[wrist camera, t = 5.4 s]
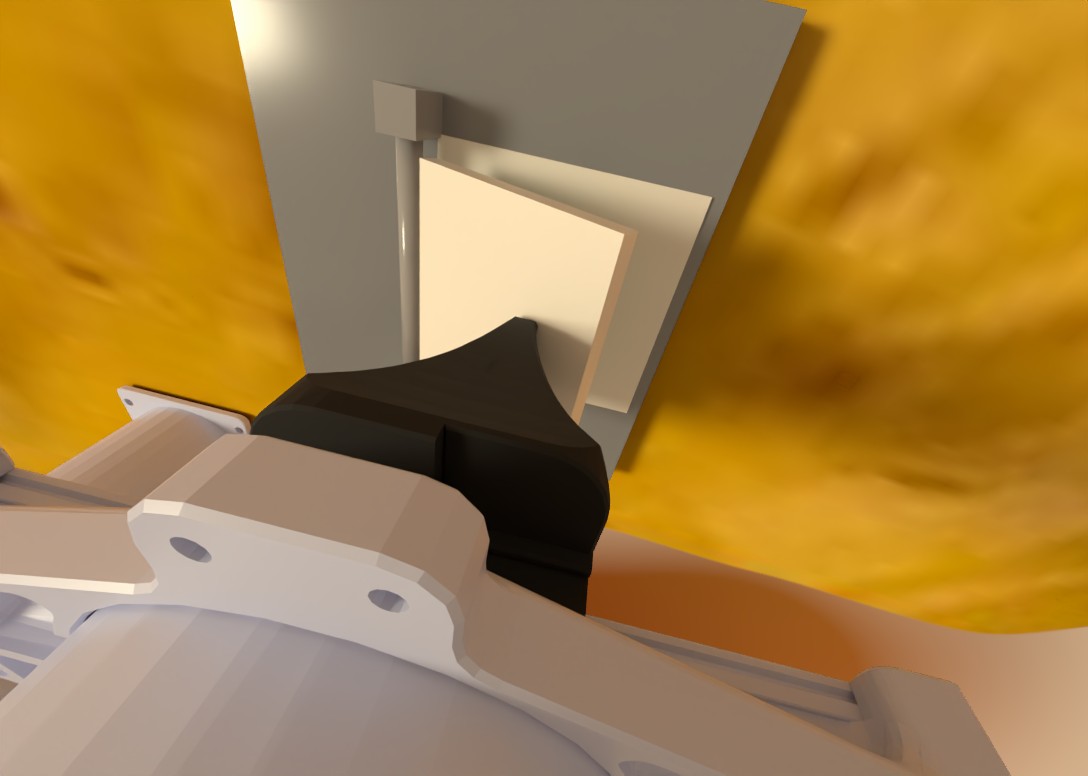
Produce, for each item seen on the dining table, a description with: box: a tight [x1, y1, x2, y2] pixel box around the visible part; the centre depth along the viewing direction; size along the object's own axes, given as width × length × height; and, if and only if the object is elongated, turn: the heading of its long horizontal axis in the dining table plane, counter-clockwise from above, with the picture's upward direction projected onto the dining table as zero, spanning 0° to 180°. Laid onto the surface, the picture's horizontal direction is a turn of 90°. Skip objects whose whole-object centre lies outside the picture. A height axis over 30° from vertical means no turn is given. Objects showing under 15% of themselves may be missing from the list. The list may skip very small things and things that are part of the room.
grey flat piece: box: [231, 0, 807, 481], centre depth 15 cm, size 18×16×3 cm
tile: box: [420, 158, 639, 425], centre depth 13 cm, size 8×7×1 cm
